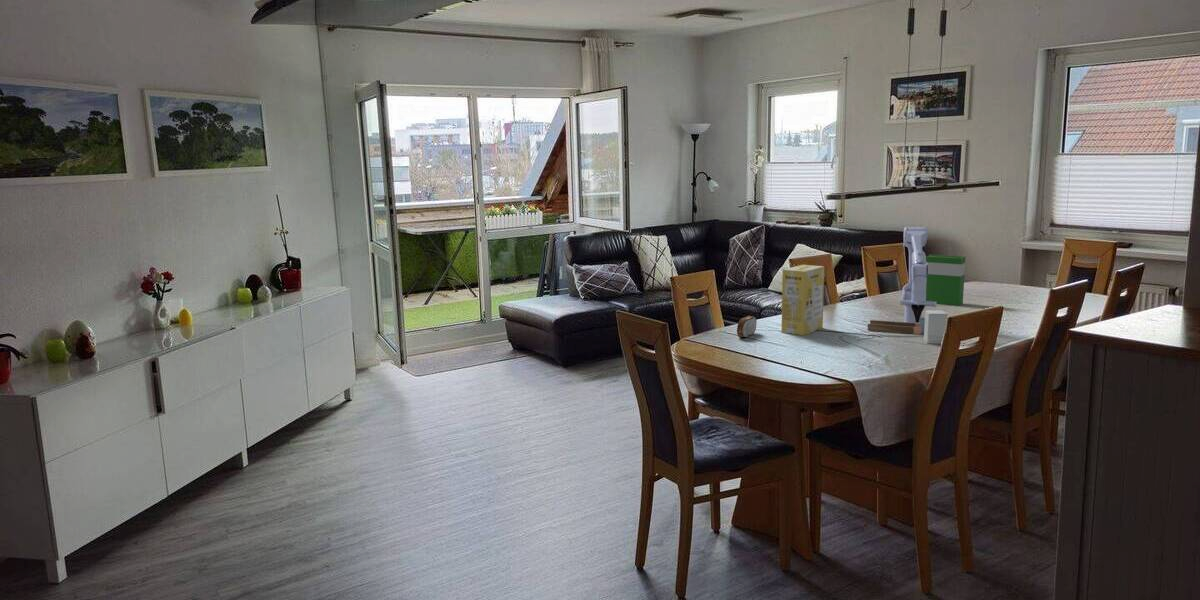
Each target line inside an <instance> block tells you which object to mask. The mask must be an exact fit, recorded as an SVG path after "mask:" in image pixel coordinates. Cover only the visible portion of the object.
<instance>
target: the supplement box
mask: <svg viewBox="0 0 1200 600" xmlns="http://www.w3.org/2000/svg"><path fill="white" fill-rule="evenodd" d="M924 317H925V327H924V334H923V341H925V343H927V344H933V345H934V344H935V345H936V344H937V345H939V344H941V341H942V338H943V334H944V331H945V326H946V319H947V320H948V313H947V312H946V311H944V310H938V309H937V310H936V309H935V310H931V309H930V310H925V313H924ZM941 345H942V344H941Z"/></svg>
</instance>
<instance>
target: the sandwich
mask: <svg viewBox="0 0 1200 600" xmlns="http://www.w3.org/2000/svg"><path fill="white" fill-rule="evenodd" d="M757 322H758V321H757V317H755V316H753V315H752V316H751V315H747V316H745V317H742V318H740V319H739V321H738V323H737V327H736V334H737V337H738V338H742V337H746V336H748V335H750V336H752V335H754V334H755V332H756V330H757V329H756V328H757ZM753 333H754V334H753ZM751 334H752V335H751ZM748 337H749V336H748ZM746 338H747V337H746Z"/></svg>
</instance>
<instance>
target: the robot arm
mask: <svg viewBox="0 0 1200 600" xmlns="http://www.w3.org/2000/svg"><path fill="white" fill-rule="evenodd" d="M928 229H929V228H928V227H927V226H924V227H923V226H918V227H917V226H915V227H914V226H905V227H904V228H903V246H904V247H906V248H907V251H908V283H907V284H905V285H904V286H903V287H902V292H901V300H900V301H899V304H900V306H904V319H903V322H909V323H920V318H921V317H922V315H923V311H924V310H925V307H930V308H932V307H934V308H937V305H938V304H937V302H932V301H926V282H927V277H928V273H929V267H928V263H927V262H926V256H927V255H926V252H925V251H924V250H923V247H925V246H926V244H927V240H928V237H929V236H928V235H929V230H928ZM926 276H927V277H926Z"/></svg>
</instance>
